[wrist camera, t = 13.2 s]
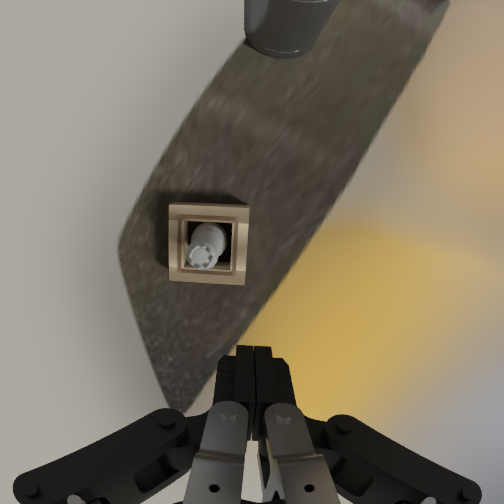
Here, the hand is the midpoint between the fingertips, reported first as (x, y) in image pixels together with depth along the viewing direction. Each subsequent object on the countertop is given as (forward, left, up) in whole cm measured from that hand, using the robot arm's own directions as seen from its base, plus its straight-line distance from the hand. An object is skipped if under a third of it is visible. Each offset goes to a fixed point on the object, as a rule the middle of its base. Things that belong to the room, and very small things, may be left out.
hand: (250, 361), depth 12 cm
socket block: (+1, -5, -25) cm, 25 cm away
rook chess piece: (0, -5, -25) cm, 25 cm away
